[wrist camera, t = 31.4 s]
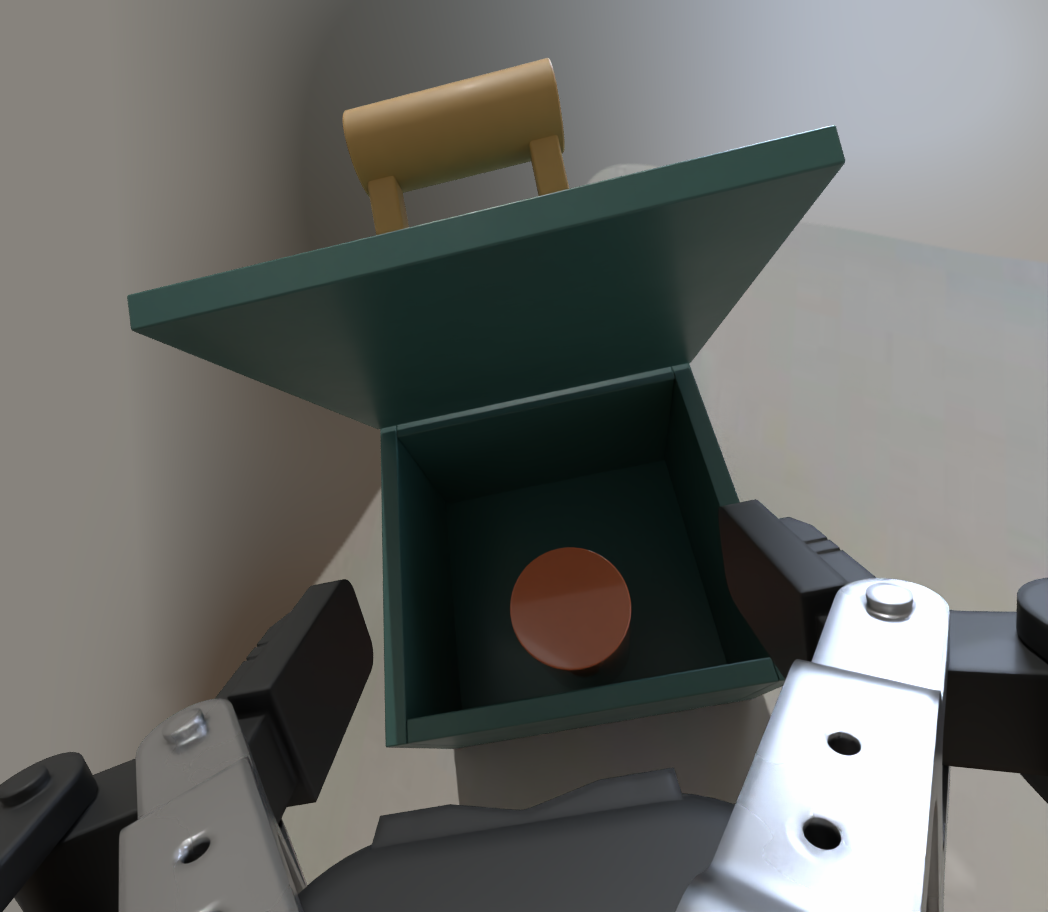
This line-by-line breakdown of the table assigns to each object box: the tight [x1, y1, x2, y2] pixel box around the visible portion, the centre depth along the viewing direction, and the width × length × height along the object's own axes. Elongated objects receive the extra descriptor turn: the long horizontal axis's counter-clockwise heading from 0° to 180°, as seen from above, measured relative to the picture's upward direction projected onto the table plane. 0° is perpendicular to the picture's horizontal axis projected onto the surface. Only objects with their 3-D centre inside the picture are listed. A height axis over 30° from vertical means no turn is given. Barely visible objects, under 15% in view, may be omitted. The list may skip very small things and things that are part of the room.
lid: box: [127, 58, 845, 429], centre depth 18 cm, size 14×15×5 cm
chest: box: [381, 363, 785, 749], centre depth 26 cm, size 14×15×9 cm
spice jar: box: [510, 547, 631, 690], centre depth 24 cm, size 5×5×8 cm
